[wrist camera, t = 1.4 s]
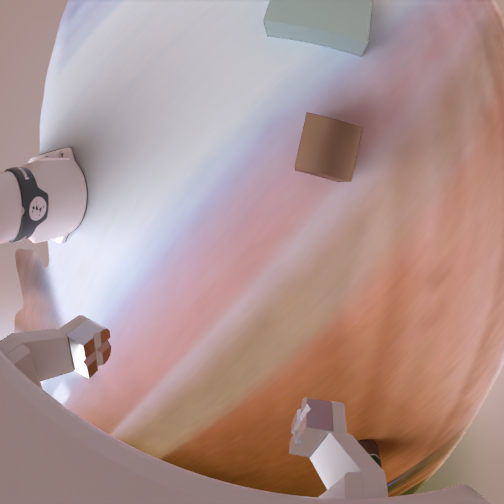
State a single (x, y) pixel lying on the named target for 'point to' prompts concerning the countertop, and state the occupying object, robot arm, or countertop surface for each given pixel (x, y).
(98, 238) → the countertop surface
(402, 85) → the countertop surface
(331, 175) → the walnut box
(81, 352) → the robot arm
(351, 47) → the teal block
